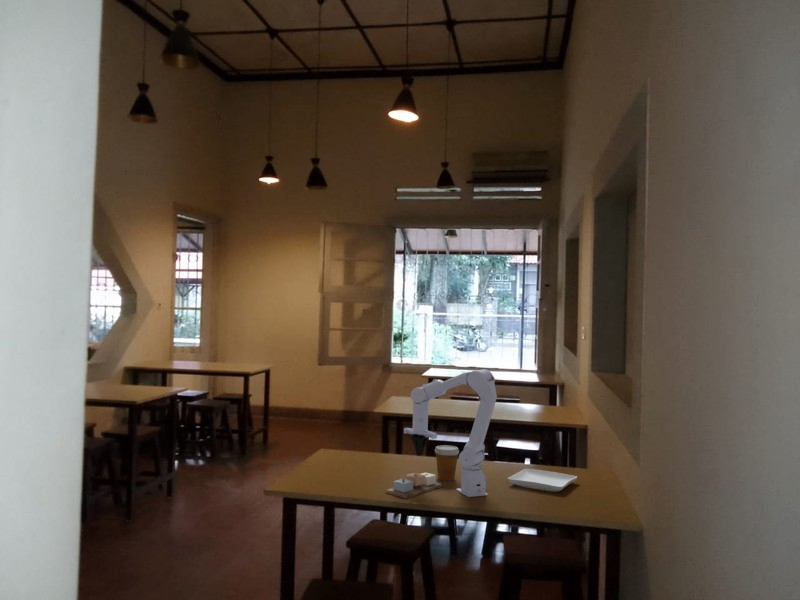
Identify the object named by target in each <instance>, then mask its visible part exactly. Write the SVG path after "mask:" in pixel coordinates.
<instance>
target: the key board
mask: <svg viewBox="0 0 800 600" xmlns="http://www.w3.org/2000/svg"><path fill="white" fill-rule="evenodd" d="M442 487H443V483H440V482H436V483H435V484H431V485H428V486H427V485H423V484H422V485H418V486H413V490H411V491H407V492H400V491H397V490H393V487H390V488H388V489H386V491H385V493H387V494H390V495H394V496H398V497H401V498H405V499H406V498H410V497H414V496H417V495H420V494H423V493H427V492H429V491H430V492H431V491H433V490H436V489H440V488H442Z"/></svg>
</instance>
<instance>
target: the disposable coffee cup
mask: <svg viewBox="0 0 800 600" xmlns="http://www.w3.org/2000/svg"><path fill="white" fill-rule="evenodd" d="M434 452H435V458H436V459H435V460H436V470H437V471H436V472H437V479H439V480H440V481H447V482H449V481H453V480H455V476H456V469H457V462H458V458H459V454H460V453H459V452H460V450H459V448H458V447H457V446H456V445H455V446H454V445H450V444H449V445H447V444H445V445H444V444H443V445H437V446H435V449H434Z"/></svg>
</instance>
